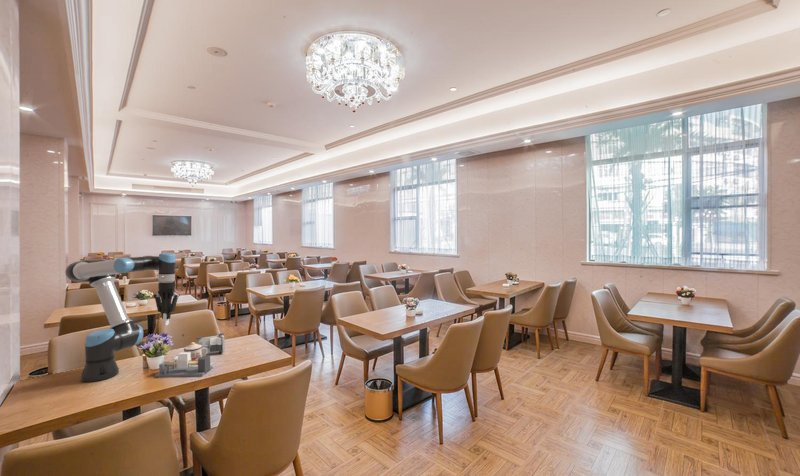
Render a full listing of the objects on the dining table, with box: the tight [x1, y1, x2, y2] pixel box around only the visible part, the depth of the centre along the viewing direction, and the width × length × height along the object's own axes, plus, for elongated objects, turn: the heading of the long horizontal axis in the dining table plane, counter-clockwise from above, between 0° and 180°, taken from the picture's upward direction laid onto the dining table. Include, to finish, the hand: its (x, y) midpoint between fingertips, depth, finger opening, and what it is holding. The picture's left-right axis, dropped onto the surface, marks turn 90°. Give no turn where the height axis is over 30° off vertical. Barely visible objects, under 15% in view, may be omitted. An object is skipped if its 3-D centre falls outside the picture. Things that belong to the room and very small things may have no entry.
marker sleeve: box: [177, 351, 192, 369], centre depth 189 cm, size 5×4×8 cm
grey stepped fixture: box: [155, 355, 214, 378], centre depth 189 cm, size 24×11×8 cm, turn 92°
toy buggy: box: [195, 332, 226, 355], centre depth 215 cm, size 18×10×12 cm, turn 129°
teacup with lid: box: [183, 341, 208, 362], centre depth 205 cm, size 12×9×12 cm
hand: (165, 324), depth 191 cm, fingers closed
